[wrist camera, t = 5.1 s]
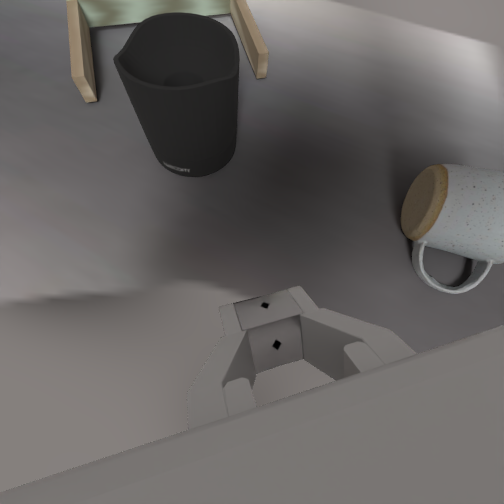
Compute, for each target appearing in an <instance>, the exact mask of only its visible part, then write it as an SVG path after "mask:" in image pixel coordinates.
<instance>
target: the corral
mask: <svg viewBox="0 0 504 504" xmlns="http://www.w3.org/2000/svg"><path fill="white" fill-rule="evenodd" d="M66 1H67V15H68V29H69V43H70V57H71V72H72V78H73V80H74V82H75V84H76V86H77V87H78V89H79V91H80V93H81V94H82V96H83V98H84V100H85V101H86V103H87V102H94V101H97V95H96V86H95V77H94V68H93V59H92V50H91V41H90V32H89V27H98V26H108V25H118V24H128V23H138V22H142V21H143V20H145V19H146V18H149V17H151V16H154V15H157V14H163V13H173V12H183V13H193V14H198V15H203V16H207V15H217V14H227V13H231V16H232V18H233V21H234V23H235V26H236V28H237V31H238V33H239V36H240V38H241V41H242V43H243V46H244V48H245V51H246V53H247V56H248V58H249V60H250V63H251V65H252V68H253V70H254V73H255V75H256V78H257V79H258V78H265V77H266V73H267V64H268V55H269V52H268V50H267V48H266V45H265V43H264V41H263V39H262V36H261V34H260V32H259V30H258V27H257V25H256V23H255V21H254V18H253V16H252V14H251V12H250V9H249V7H248V5H247V3H246V0H66Z"/></svg>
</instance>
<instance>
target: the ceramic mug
mask: <svg viewBox="0 0 504 504" xmlns="http://www.w3.org/2000/svg"><path fill="white" fill-rule="evenodd" d="M401 228H402V230H403V233H404V234H405V236H406V237H407V238H409V239H411V240H413V241H414V242H415V245H414V248H413V251H412V265H413V268H414V270H415V272H416V273H417V275H418V276H419V277H420V278H421V279H422V280H423V281H424V282H425V283H426V284H427V285H429V286H430V287H432V288H434V289H436V290H439V291H442V292H446V293H452V294H458V293H463V292H466V291H469V290H470V289H472V288H474V287H476V286H477V285H478V284H479V283H480V282H481V281H482V280H483V279H484V278H485V276H486V275H487V273H488V271H489V270H490V268H491V266H492V264H500V263H504V172H503V171H497V170H491V169H483V168H475V167H470V166H464V165H458V164H436V165H431V166H429V167H428V168H426V169H425V170H423V171H422V172H421V173H420V174H419V175H418V176H417V177H416V179H415V180H414V182H413V183H412V185H411V186H410V188H409V190H408V193H407V195H406V197H405V200H404V203H403V207H402V212H401ZM424 246H428V247H431V248H436V249H440V250H444V251H448V252H451V253H454V254H458V255H461V256H464V257H467V258H471V259H475V260H477V261H478V263H477V265H476V267H475V269H474V271H473V272H472V274H471V275H470V276H469V278H468V279H467V280H466V281H465V282H463V284H461V285H460V286H457V287H450V286H446V285H444V284H440V283H438V282H437V281H436V280H435V279H434V278H433V277H432V276H429V275H428V274H427V273H426V272H425V270H424V267H423V263H422V261H423V251H424Z"/></svg>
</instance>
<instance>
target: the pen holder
mask: <svg viewBox="0 0 504 504" xmlns="http://www.w3.org/2000/svg"><path fill="white" fill-rule="evenodd" d="M113 60H114V64H115V66H116V68H117V71H118V73H119V75H120V78H121V80H122V82H123V84H124V87H125V89H126V91H127V94H128V96H129V98H130V100H131V103H132V105H133V107H134V110H135V112H136V114H137V116H138V119H139V121H140V123H141V126H142V128H143V130H144V132H145V135H146V137H147V139H148V141H149V143H150V145H151V148H152V150H153V152H154V154H155V156H156V158H157V159H158V161H159V162H160V163H161V164H162V166H164V167H165V168H166V169H168V170H169V171H171V172H173V173H176V174H179V175H182V176H189V177H199V176H205V175H209V174H211V173H214V172H216V171H218V170H219V169H221V168H222V167H223V166H225V165H226V164H227V163H228V162H229V160H230V159H231V157H232V156H233V153H234V150H235V144H236V128H237V106H238V82H239V49H238V44H237V41H236V39H235V36H234V35H233V33H232V32H231V31H230V30H229V29H228V28H227V27H226V26H225V25H223V24H222V23H220V22H218V21H216V20H214V19H212V18H209V17H206V16H203V15H198V14H193V13H183V12H173V13H163V14H157V15H154V16H151V17H149V18H146V19H145V20H143V21H142V22H141V23H139V24H138V25H137V27H136V28H135V29H134V30H133V32H132V34H131V35H130V37H129V39H128V40H127V42H126V44H125V45H124V47H123V49H122V50H121V51H120V52H119V53H118V54H117V55H116V56H115V57H114V59H113Z"/></svg>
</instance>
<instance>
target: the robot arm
mask: <svg viewBox="0 0 504 504" xmlns="http://www.w3.org/2000/svg"><path fill="white" fill-rule="evenodd" d="M219 312H220V316H221V320H222V324H223V329H224V333H225V336H223V337H221V338H220V340H219V341H218V343H217V345H216V346H215V348H214V350H213V351H212V353H211V354H210V356H209V358H208V359H207V361H206V363H205V364H204V366H203V368H202V369H201V371H200V373H199V375H198V376H197V378H196V379H195V381H194V383H193V384H192V386H191V388H190V389H189V391H188V393H187V408H188V430H186V431H183V432H180V433H177V434H175V435H171V436H169V437H165V438H163V439H160V440H157V441H153V442H150V443H147V444H145V445H141V446H138V447H135V448H132V449H129V450H126V451H123V452H120V453H118V454H115V455H111V456H108V457H105V458H102V459H99V460H96V461H93V462H90V463H88V464H84V465H81V466H78V467H75V468H72V469H69V470H66V471H63V472H60V473H57V474H54V475H51V476H48V477H45V478H42V479H39V480H36V481H33V482H30V483H27V484H24V485H21V486H18V487H15V488H12V489H9V490H6V491H3V492H0V504H504V325H502V326H499V327H496V328H493V329H490V330H487V331H484V332H481V333H478V334H475V335H472V336H469V337H466V338H463V339H460V340H457V341H454V342H451V343H448V344H445V345H442V346H439V347H436V348H433V349H430V350H427V351H424V352H421V353H418V354H417V353H415V352H414V351H413V350H412V349H411V348H410V347H409V346H408V345H407V344H406V343H405V342H403V341H402V340H401V339H400V338H399V337H398V336H397V335H396V334H395V333H394V332H392V331H391V330H389V329H386V328H383V327H380V326H377V325H374V324H371V323H368V322H365V321H362V320H359V319H356V318H353V317H350V316H347V315H343V314H340V313H337V312H334V311H331V310H328V309H325V308H321V309H319V308H318V306H317V305H316V304H315V303H314V302H313V300H312V299H311V298H310V297H309V296H308V294H307V293H306V292H305V291H304V290H303V288H302V287H301V286H299V285H298V286H295V287H292V288H288V289H286V290H282V291H279V292H275V293H272V294H268V295H265V296H261V297H256V298H252V299H248V300H244V301H240V302H236V303H233V304H228V305H225V306H220V307H219ZM302 359H304V360H305V361H307V362H308V363H310V364H311V365H313V366H314V367H316V368H317V369H319V370H320V371H322V372H324V373H325V374H327V375H328V376H330V377H331V378H333V379H334V380H336V381H334V382H331V383H328V384H325V385H322V386H319V387H316V388H313V389H310V390H307V391H304V392H301V393H298V394H295V395H292V396H289V397H286V398H283V399H280V400H277V401H274V402H271V403H268V404H265V405H262V406H259V407H257V406H256V403H255V399H254V396H253V393H252V389H253V385H254V382H255V378H256V374H258V373H260V372H263V371H266V370H269V369H272V368H275V367H278V366H280V365H284V364H288V363H291V362H295V361H299V360H302Z"/></svg>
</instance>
